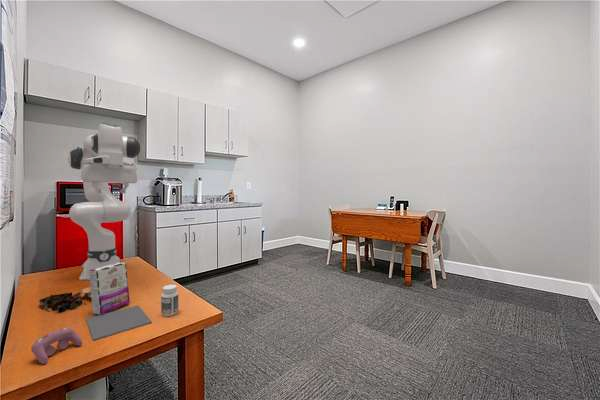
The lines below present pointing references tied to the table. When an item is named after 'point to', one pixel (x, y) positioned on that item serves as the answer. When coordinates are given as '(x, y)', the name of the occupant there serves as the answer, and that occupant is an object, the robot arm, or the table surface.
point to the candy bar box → (109, 288)
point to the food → (65, 300)
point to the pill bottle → (169, 300)
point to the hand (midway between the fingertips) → (111, 193)
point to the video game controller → (43, 344)
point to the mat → (116, 322)
